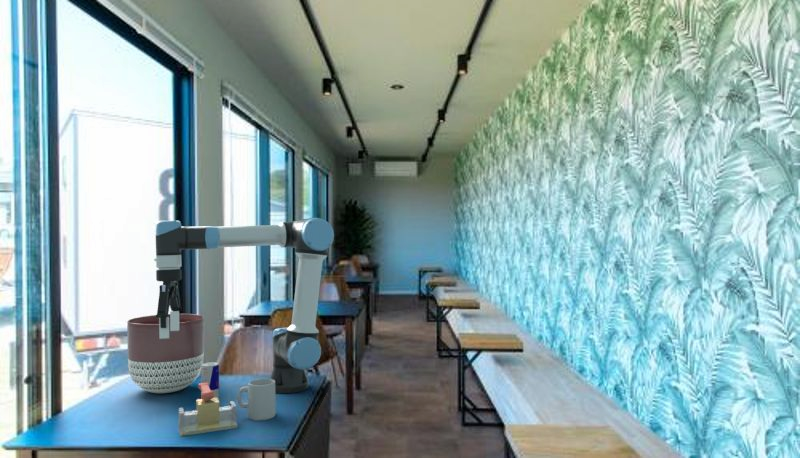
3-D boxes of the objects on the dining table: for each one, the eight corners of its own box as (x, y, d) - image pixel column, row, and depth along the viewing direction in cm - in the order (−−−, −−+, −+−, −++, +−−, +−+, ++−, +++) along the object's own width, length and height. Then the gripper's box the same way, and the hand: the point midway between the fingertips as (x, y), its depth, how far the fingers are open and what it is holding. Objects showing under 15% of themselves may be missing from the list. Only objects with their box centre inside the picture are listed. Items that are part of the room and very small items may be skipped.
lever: (214, 400, 165) (214, 392, 165) (202, 402, 164) (202, 394, 164) (208, 389, 178) (208, 381, 178) (197, 390, 176) (197, 383, 176)
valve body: (232, 418, 174) (232, 393, 174) (237, 427, 165) (237, 401, 166) (178, 426, 167) (178, 400, 167) (180, 436, 158) (180, 408, 159)
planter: (219, 387, 210) (219, 316, 211) (155, 405, 188) (155, 326, 188) (175, 378, 225) (175, 312, 225) (111, 393, 202) (112, 320, 202)
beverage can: (213, 411, 181) (213, 365, 181) (197, 410, 182) (198, 365, 182) (222, 406, 187) (222, 362, 187) (207, 405, 188) (207, 361, 188)
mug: (278, 411, 180) (278, 378, 181) (271, 420, 172) (272, 385, 172) (241, 412, 181) (241, 378, 181) (233, 420, 172) (233, 385, 172)
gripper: (166, 266, 189) (167, 328, 188) (145, 271, 164) (146, 342, 164) (189, 265, 190) (190, 327, 190) (171, 270, 165) (172, 341, 165)
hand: (169, 334), depth 177 cm, fingers open, 13 cm apart
